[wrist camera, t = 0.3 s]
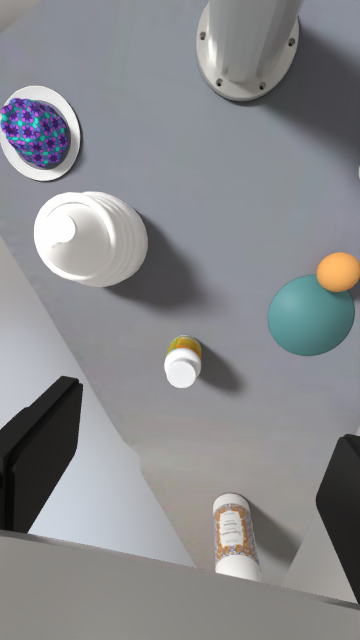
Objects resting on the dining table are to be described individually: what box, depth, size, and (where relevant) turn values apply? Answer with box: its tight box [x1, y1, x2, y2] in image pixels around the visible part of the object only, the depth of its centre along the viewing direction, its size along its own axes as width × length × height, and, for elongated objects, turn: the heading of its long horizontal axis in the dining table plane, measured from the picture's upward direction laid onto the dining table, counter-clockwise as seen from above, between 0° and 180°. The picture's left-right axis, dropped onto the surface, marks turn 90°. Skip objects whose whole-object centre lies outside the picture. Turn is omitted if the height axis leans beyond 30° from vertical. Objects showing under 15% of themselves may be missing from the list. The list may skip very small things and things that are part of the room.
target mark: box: [268, 275, 354, 356], centre depth 45 cm, size 13×13×1 cm
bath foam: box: [213, 493, 261, 582], centre depth 46 cm, size 7×7×20 cm
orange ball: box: [317, 252, 360, 292], centre depth 41 cm, size 6×6×6 cm
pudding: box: [0, 86, 80, 181], centre depth 39 cm, size 12×12×5 cm
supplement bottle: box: [164, 335, 201, 388], centre depth 44 cm, size 5×5×10 cm
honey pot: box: [34, 192, 148, 287], centre depth 36 cm, size 13×13×18 cm
